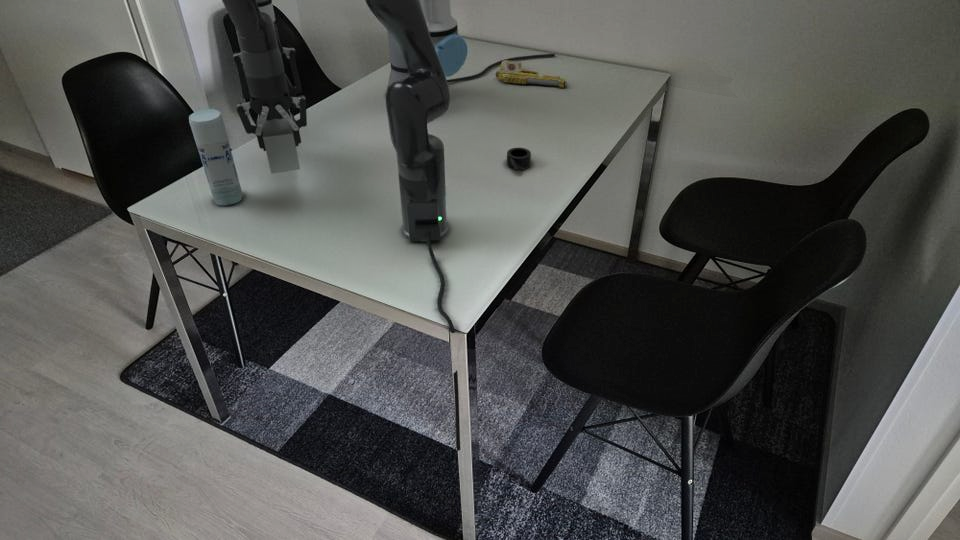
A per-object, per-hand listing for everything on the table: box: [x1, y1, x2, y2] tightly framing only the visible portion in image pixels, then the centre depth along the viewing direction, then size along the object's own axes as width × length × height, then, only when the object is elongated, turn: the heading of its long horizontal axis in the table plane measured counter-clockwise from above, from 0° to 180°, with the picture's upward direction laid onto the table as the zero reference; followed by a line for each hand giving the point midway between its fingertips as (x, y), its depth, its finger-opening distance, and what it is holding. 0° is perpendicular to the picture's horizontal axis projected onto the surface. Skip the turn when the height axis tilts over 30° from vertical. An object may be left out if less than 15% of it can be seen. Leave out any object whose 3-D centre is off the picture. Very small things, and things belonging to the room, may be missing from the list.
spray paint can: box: [188, 108, 244, 206], centre depth 136 cm, size 6×6×20 cm
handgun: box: [494, 59, 567, 89], centre depth 199 cm, size 2×23×15 cm
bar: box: [262, 109, 301, 174], centre depth 141 cm, size 28×6×8 cm, turn 17°
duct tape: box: [506, 147, 532, 171], centre depth 154 cm, size 8×10×3 cm
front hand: (281, 146), depth 134 cm, fingers closed on bar, 6 cm apart
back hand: (279, 122), depth 151 cm, fingers closed on bar, 6 cm apart
